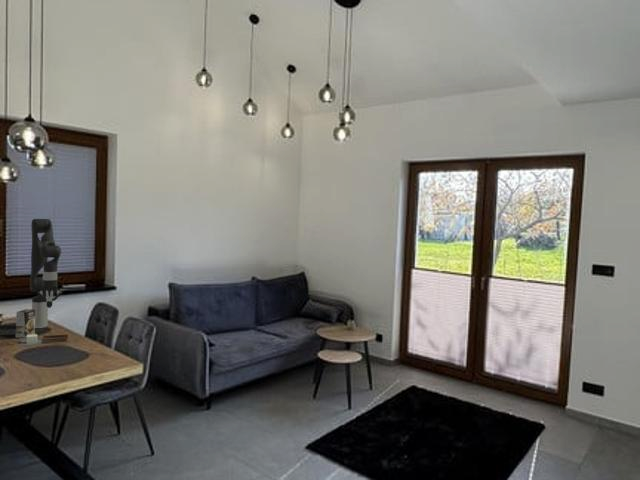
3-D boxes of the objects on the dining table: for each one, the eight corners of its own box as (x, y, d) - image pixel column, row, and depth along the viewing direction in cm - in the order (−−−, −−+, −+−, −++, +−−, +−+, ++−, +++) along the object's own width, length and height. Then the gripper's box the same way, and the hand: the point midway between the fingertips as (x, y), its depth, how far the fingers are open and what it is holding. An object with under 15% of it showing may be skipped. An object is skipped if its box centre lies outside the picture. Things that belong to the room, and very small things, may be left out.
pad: (22, 340, 272) (22, 339, 272) (43, 339, 277) (43, 338, 277) (19, 346, 262) (19, 345, 261) (41, 345, 266) (41, 344, 266)
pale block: (27, 341, 270) (27, 334, 270) (37, 340, 272) (37, 334, 272) (26, 343, 265) (26, 337, 265) (36, 343, 268) (36, 336, 268)
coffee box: (25, 338, 278) (26, 312, 277) (15, 337, 278) (15, 311, 277) (35, 334, 287) (35, 309, 286) (25, 333, 287) (25, 308, 286)
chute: (43, 339, 277) (43, 334, 277) (67, 338, 283) (68, 333, 283) (41, 345, 266) (41, 339, 266) (66, 343, 272) (66, 338, 272)
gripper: (63, 277, 277) (62, 305, 278) (38, 278, 271) (37, 306, 272) (62, 279, 270) (61, 308, 271) (36, 279, 265) (35, 309, 266)
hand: (49, 307), depth 272 cm, fingers closed
